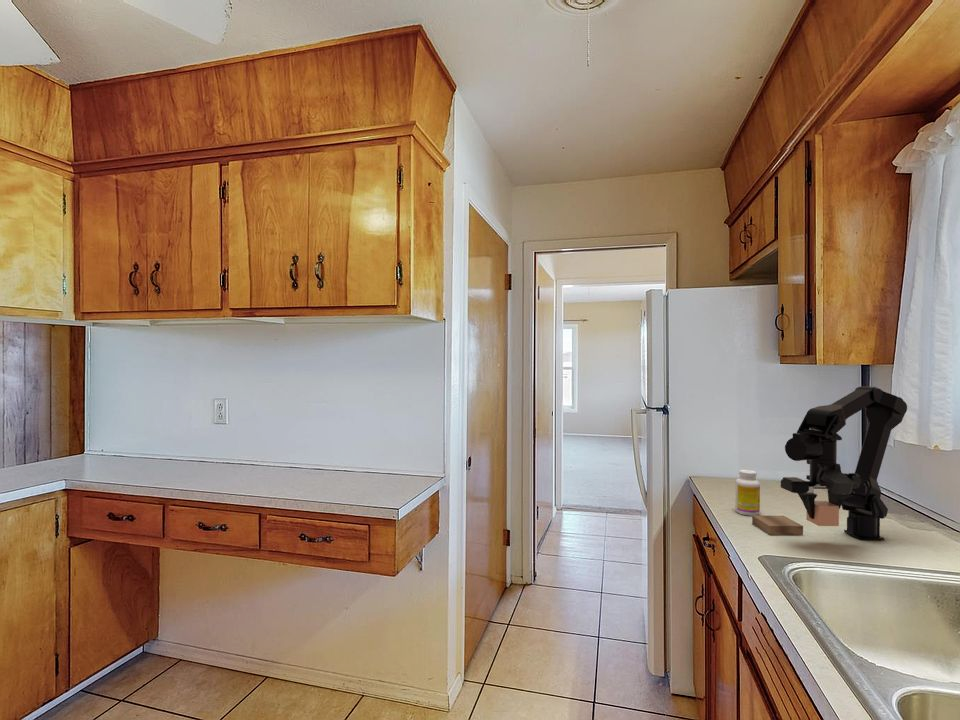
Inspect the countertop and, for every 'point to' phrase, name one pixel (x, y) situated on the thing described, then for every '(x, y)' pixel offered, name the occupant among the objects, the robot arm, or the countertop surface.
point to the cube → (825, 514)
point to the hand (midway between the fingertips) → (822, 518)
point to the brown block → (777, 525)
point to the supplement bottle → (747, 493)
